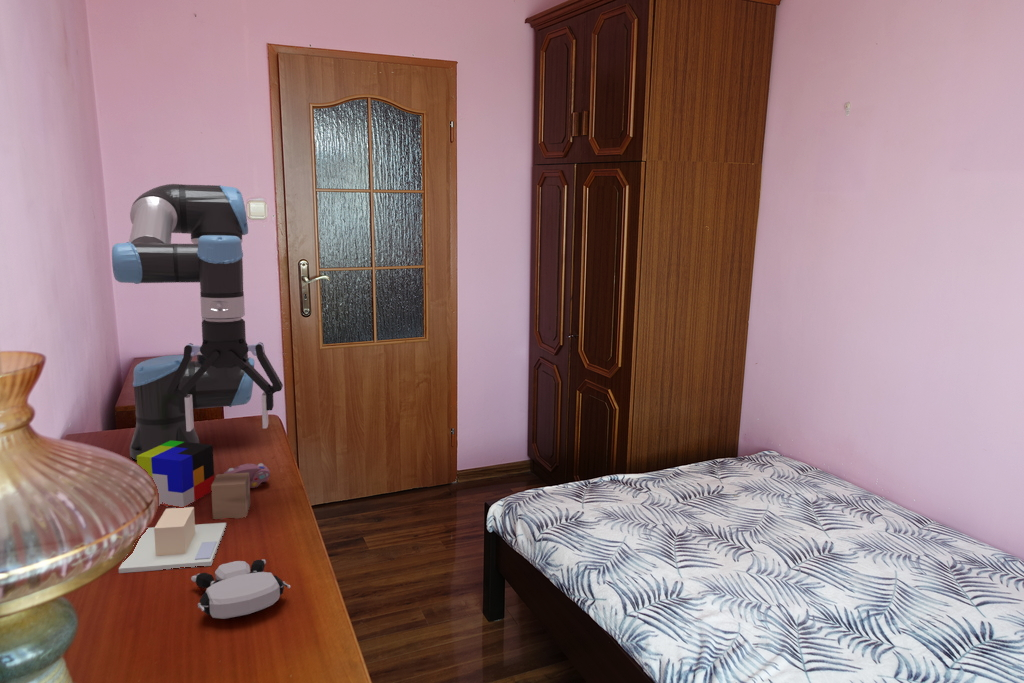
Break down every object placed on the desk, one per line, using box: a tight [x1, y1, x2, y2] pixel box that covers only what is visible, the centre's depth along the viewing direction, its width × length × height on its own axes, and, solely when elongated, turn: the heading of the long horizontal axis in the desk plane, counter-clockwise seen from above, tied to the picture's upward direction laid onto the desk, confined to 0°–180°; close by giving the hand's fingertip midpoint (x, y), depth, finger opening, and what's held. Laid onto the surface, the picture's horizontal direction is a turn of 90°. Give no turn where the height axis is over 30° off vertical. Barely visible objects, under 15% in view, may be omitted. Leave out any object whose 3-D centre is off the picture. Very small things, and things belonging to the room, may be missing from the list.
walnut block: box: [211, 473, 251, 520], centre depth 135 cm, size 6×6×7 cm
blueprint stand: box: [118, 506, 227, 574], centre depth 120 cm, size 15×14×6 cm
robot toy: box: [190, 559, 291, 620], centre depth 105 cm, size 12×4×15 cm
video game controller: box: [223, 462, 271, 489], centre depth 147 cm, size 10×5×7 cm, turn 122°
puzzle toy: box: [136, 441, 215, 507], centre depth 142 cm, size 10×10×10 cm
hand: (228, 428), depth 132 cm, fingers open, 13 cm apart
